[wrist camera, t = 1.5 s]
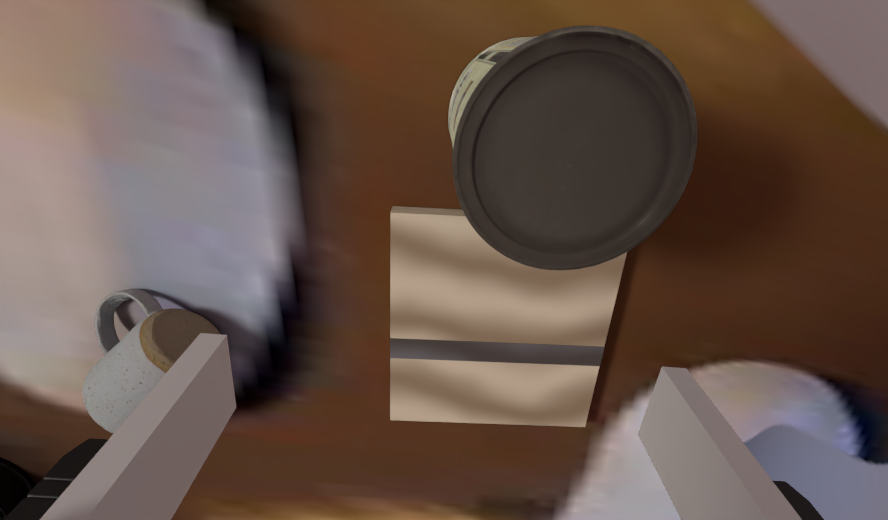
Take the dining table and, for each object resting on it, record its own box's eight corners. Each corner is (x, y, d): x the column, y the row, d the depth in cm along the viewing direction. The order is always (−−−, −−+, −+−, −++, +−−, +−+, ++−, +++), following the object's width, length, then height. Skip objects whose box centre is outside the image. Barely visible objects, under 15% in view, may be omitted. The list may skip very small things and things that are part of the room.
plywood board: (392, 206, 35) (390, 212, 33) (626, 217, 35) (634, 224, 34) (391, 408, 43) (390, 420, 42) (580, 415, 44) (585, 427, 42)
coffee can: (591, 182, 34) (681, 263, 21) (453, 193, 34) (460, 280, 22) (599, 27, 30) (719, 12, 17) (441, 42, 30) (442, 38, 17)
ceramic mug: (248, 340, 40) (205, 400, 33) (196, 392, 42) (146, 459, 35) (139, 261, 37) (67, 309, 30) (90, 321, 39) (12, 379, 32)
